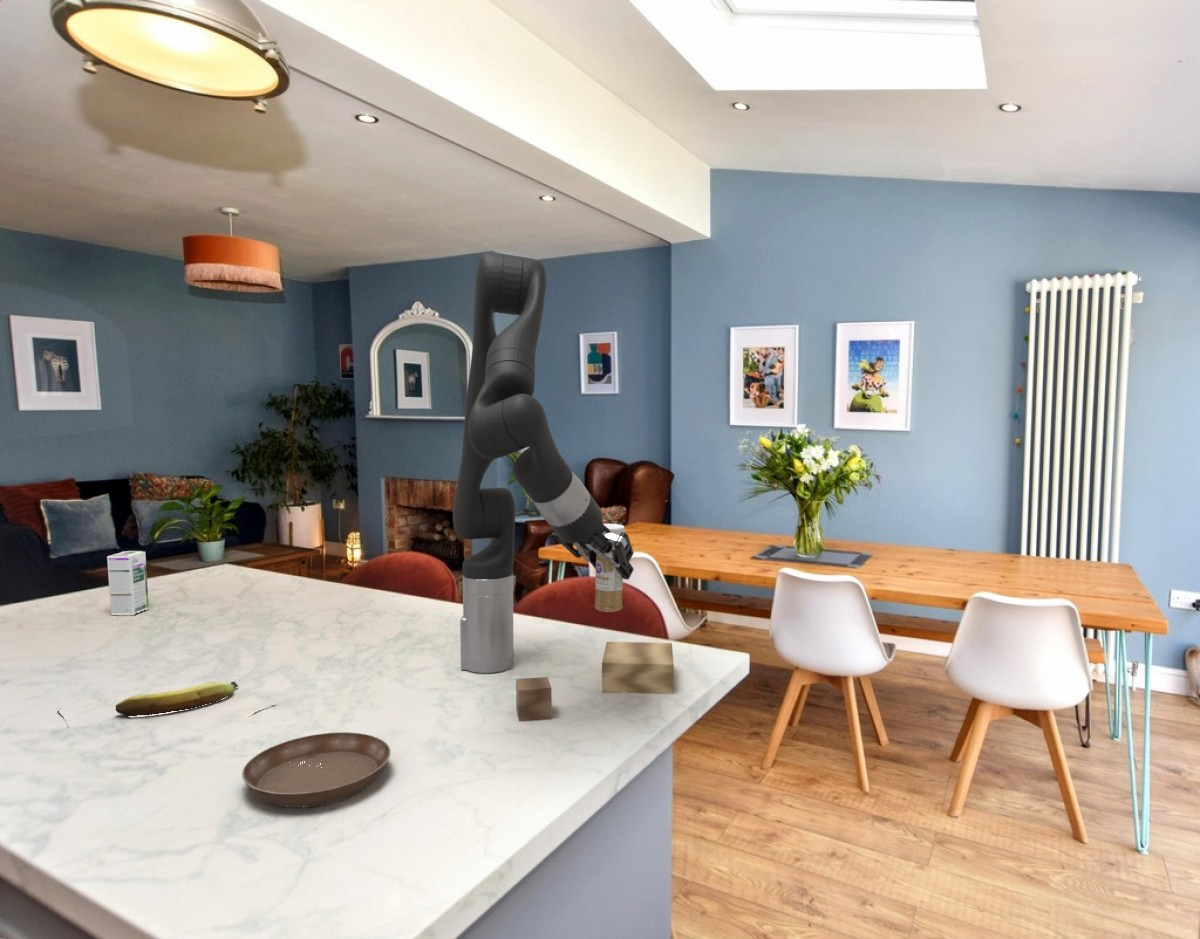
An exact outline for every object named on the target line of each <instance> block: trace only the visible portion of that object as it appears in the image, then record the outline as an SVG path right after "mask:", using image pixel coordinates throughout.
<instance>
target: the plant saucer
mask: <svg viewBox="0 0 1200 939" xmlns="http://www.w3.org/2000/svg"><path fill="white" fill-rule="evenodd" d="M391 754H392V753H391V748H390V745H389V744H388V743H387V742H386V741H384V740H382V739H381V738H379V737H376V736H373V735H370V734H366V733H360V732H349V731H346V732H345V731H341V732H328V733H327V732H326V733H318V734H312V735H305V736H302V737H298V738H293V739H290V740H286V741H284V742H280V743H278V744H276V745H273V746H270V747H269V748H267V749H264V750H263V751H261V752H260V753H258V754H256V755H254V757H252V758H250V759H249V761H248V762H247V763H246V764H245V765H244V766H243V769H242V772H241V776H242V780H243V782H244V784H245V785H246V786H247V787H248V788H249V790H250V791H251V792H252V793H253V794H254V795H256V796H257V797H259V799H261V800H263V801H265V802H266V803H268V802H269V804H271V805H274V804H275V805H274V806H277V805H279V806H278V807H283V806H288V807H287V808H294V807H300V808H306V807H305V806H313V807H317V806H316V805H320V806H323V805H322V804H325V805H328V804H327V803H329V804H332V803H331V802H333V803H336V802H335V801H337V802H339V801H338V800H340V801H343V800H345V799H344V798H346V799H348V798H350V797H349V796H351V797H352V795H353V796H355V795H356V793H357V794H359V793H360V792H362V791H363V789H364V790H366V788H368V787H369V786H370V785H371V784H372V783H373V782H374V781H375V780H376V779H377V778H378V776H379V775H380V774H381V772H382V771H383V769H384V768H385V767H386V765H387V763H388V761H389V759H390V757H391ZM302 761H303V764H302ZM304 761H305V763H304ZM289 762H290V763H289ZM300 762H301V765H300ZM320 763H321V765H320ZM298 765H299V766H298ZM309 765H310V766H309ZM318 765H319V766H318ZM316 766H317V767H316ZM321 767H322V768H321ZM367 786H368V787H367ZM361 790H362V791H361ZM358 792H359V793H358ZM354 794H355V795H354ZM347 797H348V798H347ZM342 799H343V800H342ZM303 806H304V807H303Z"/></svg>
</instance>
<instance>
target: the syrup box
mask: <svg viewBox="0 0 1200 939" xmlns="http://www.w3.org/2000/svg"><path fill="white" fill-rule="evenodd" d="M146 559H147V557H146V551H144V550H127V551H126V550H125V551H121V552H119V553H113V554H112V555H111V554H110V555H108V556H106V560H107V562H106V563H107V574H108V575H107V576H108V588H109V589H108V590H109V591H108V592H109V607H110V614H111V613H135V612H137V611H140V610H142V609H145V608H148V607H149V608H150V606H149V605H150V604H149V590H148V587H149V586H148V573H147V560H146Z"/></svg>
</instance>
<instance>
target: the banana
mask: <svg viewBox="0 0 1200 939" xmlns="http://www.w3.org/2000/svg"><path fill="white" fill-rule="evenodd" d="M236 687H238V688H239V685H238V683H236V682H235V681H231V682H225V681H210V682H204V683H200V684H196V685H193V686H189V687H185V688H181V689H177V690H176V689H175V690H168V691H162V692H156V693H155V692H154V693H146V694H136V695H132V696H129V697H128V698H125V699H124V700H121V702H118V703H117V704H115V711H116V713H118V714H120V715H124V716H126V717H128V716H137V715H150V714H151V715H152V714H159V713H166V712H171V711H179V710H185V709H191V708H195V707H199V706H202V705H205V704H209V703H213V702H216V701H219V700H221V699H223V698H225V697H227V696H229V695H230V696H231V695H232V694H233V693H234V691H235V690H236V689H235V688H236ZM234 689H235V690H234ZM230 696H229V697H230ZM219 702H220V701H219ZM213 704H214V703H213ZM199 708H200V707H199ZM195 709H196V708H195Z"/></svg>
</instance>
